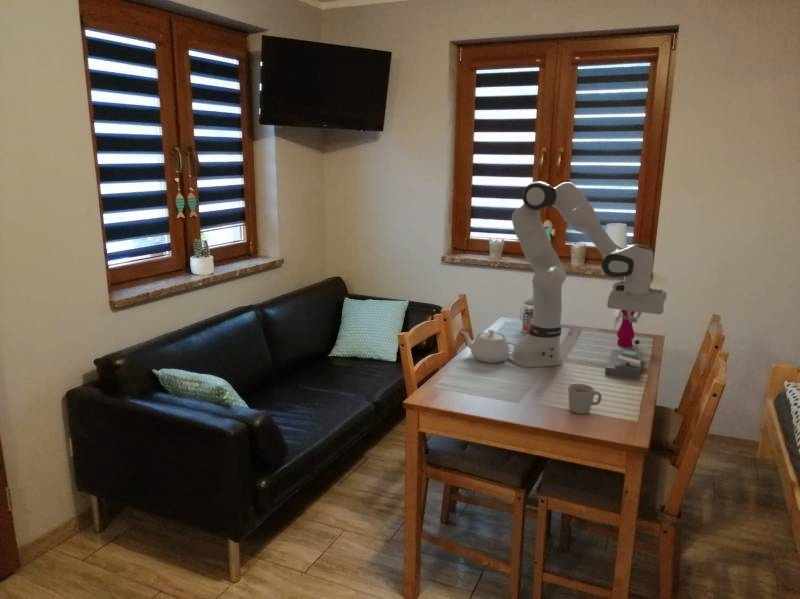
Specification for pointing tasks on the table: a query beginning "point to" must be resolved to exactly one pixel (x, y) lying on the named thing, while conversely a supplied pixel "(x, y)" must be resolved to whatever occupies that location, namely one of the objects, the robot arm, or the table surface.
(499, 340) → the teapot
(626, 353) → the push button
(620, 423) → the table surface
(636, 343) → the toggle lever
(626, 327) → the pepper mill
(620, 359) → the rocker switch
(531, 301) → the french press
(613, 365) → the control panel
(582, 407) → the cup
